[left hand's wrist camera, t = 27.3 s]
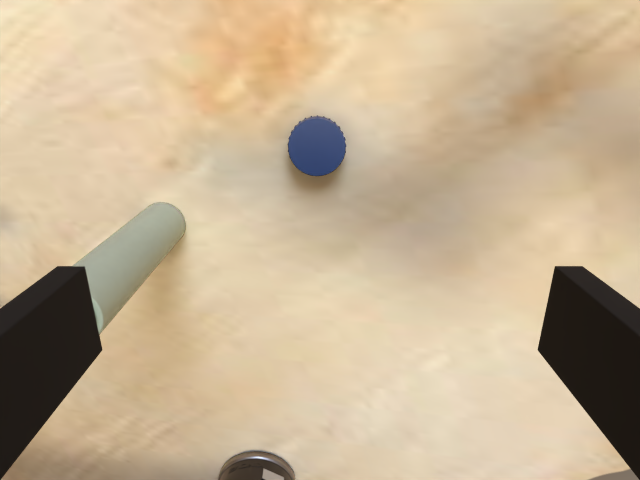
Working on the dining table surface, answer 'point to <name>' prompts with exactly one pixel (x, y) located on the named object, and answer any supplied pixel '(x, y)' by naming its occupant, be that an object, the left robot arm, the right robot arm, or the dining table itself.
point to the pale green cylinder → (130, 258)
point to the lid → (316, 146)
